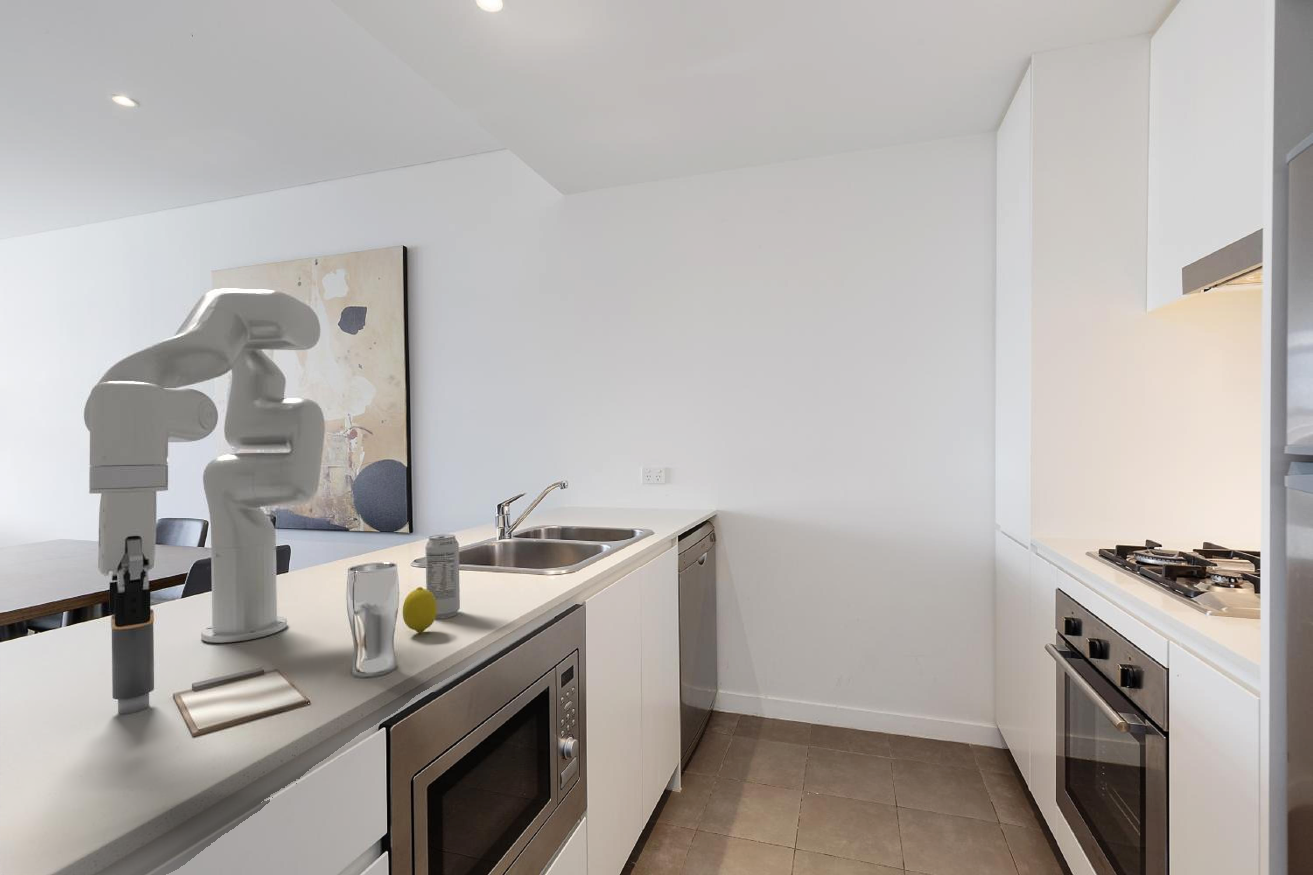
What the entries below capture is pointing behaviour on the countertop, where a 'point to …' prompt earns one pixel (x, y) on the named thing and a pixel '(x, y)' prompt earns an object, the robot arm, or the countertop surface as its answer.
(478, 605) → the countertop surface
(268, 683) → the clipboard
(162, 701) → the countertop surface
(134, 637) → the grey rounded cylinder
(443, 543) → the energy drink can
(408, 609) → the lemon
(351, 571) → the beer glass
